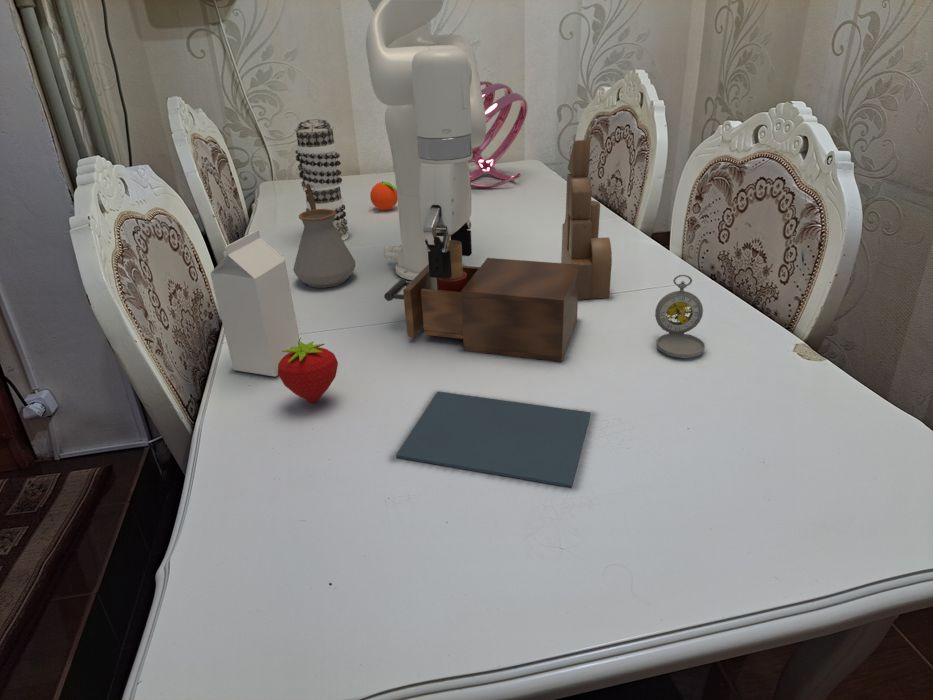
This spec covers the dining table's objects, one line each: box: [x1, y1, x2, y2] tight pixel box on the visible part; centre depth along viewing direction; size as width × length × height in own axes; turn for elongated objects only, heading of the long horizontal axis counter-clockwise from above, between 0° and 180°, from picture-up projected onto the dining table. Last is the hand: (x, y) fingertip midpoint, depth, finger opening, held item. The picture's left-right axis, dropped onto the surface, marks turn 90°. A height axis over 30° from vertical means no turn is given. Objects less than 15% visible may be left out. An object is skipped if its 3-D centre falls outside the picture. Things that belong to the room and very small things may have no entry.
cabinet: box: [461, 257, 580, 363], centre depth 97 cm, size 15×14×10 cm
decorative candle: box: [294, 118, 349, 241], centre depth 139 cm, size 9×9×25 cm
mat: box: [395, 391, 591, 488], centre depth 76 cm, size 20×14×1 cm
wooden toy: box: [560, 139, 613, 301], centre depth 110 cm, size 16×7×25 cm, turn 1°
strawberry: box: [277, 337, 339, 404], centre depth 82 cm, size 6×8×10 cm
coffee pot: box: [292, 184, 356, 289], centre depth 123 cm, size 21×12×15 cm, turn 17°
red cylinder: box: [437, 240, 467, 292], centre depth 98 cm, size 5×5×12 cm
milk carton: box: [210, 229, 301, 378], centre depth 90 cm, size 7×7×19 cm
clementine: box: [369, 181, 398, 211], centre depth 161 cm, size 8×7×7 cm
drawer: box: [383, 264, 481, 340], centre depth 100 cm, size 18×12×8 cm
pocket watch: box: [654, 274, 706, 359], centre depth 92 cm, size 8×8×10 cm
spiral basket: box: [468, 80, 528, 189], centre depth 177 cm, size 28×28×27 cm
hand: (451, 265), depth 97 cm, fingers open, 9 cm apart
